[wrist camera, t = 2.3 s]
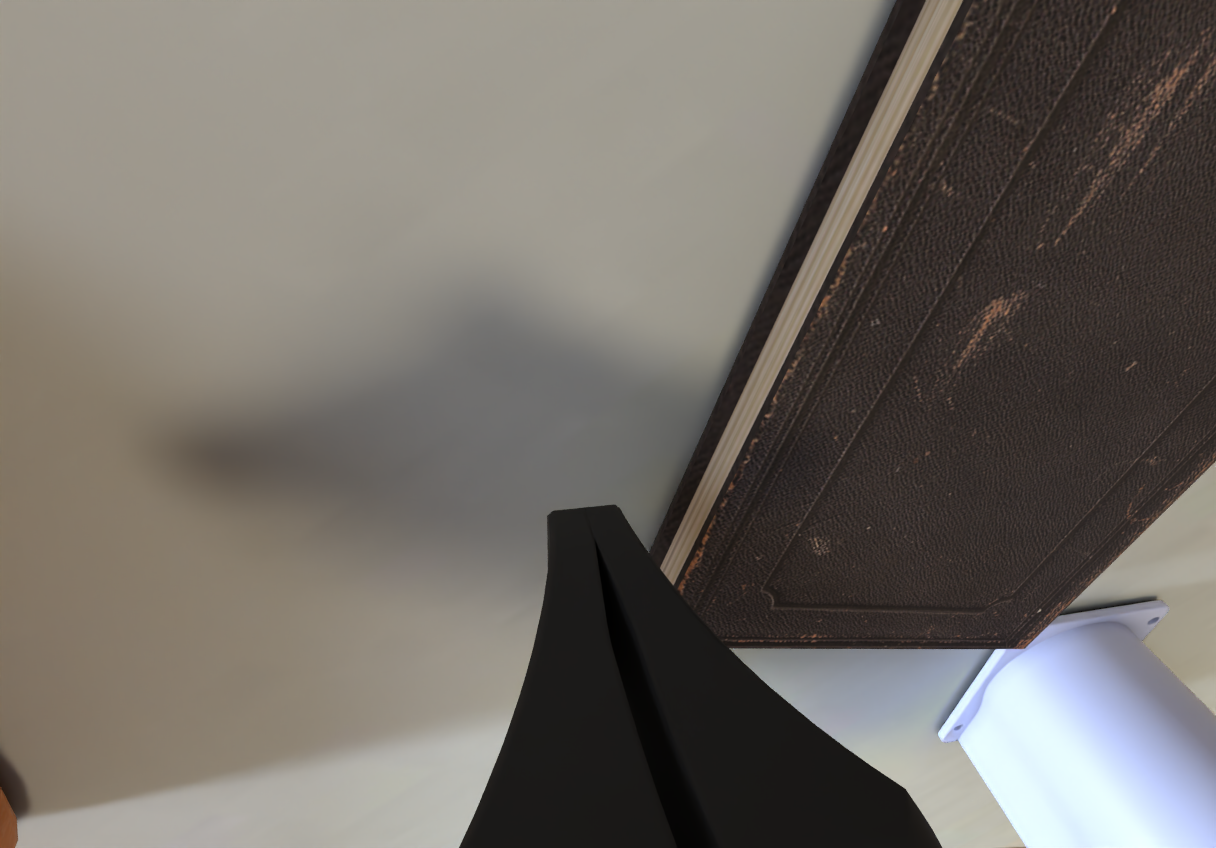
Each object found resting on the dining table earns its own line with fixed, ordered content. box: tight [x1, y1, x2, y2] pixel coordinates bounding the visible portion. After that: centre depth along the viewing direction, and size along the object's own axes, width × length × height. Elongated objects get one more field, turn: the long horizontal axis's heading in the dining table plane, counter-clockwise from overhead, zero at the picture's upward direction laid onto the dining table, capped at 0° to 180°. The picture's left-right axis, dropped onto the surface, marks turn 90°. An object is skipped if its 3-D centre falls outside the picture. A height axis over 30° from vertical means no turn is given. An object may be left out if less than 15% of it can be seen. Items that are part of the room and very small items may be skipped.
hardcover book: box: [649, 0, 1216, 649], centre depth 16 cm, size 16×23×2 cm
